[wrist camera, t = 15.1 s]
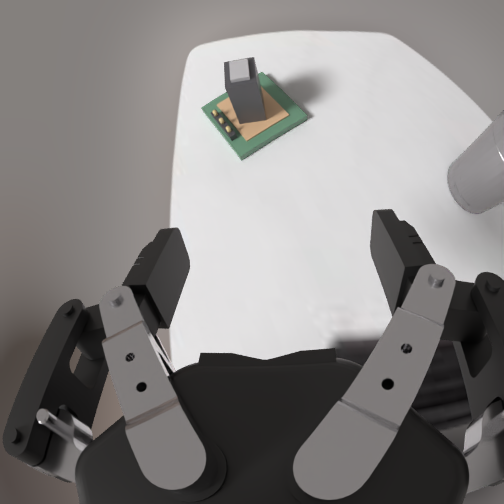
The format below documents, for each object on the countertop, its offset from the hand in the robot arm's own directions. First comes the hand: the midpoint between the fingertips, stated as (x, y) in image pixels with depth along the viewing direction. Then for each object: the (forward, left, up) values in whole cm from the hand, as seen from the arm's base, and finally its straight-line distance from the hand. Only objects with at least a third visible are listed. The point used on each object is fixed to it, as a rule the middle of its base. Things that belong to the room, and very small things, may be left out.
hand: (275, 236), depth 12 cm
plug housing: (-9, -24, -25) cm, 36 cm away
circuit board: (-9, -24, -27) cm, 37 cm away
